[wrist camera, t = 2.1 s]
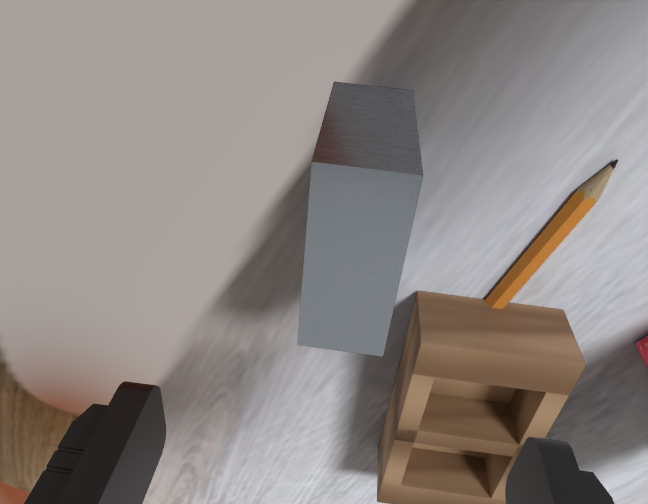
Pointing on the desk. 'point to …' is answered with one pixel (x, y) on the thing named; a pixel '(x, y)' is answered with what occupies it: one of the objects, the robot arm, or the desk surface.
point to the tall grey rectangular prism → (359, 217)
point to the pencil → (550, 238)
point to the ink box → (643, 349)
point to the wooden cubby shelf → (471, 397)
